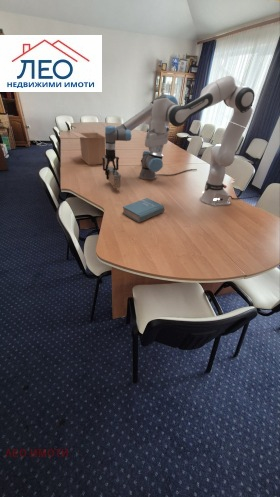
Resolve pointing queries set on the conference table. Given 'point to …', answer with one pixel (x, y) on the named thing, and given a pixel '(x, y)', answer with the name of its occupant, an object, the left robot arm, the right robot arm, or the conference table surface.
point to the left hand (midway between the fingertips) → (110, 178)
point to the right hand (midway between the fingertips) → (155, 153)
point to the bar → (114, 177)
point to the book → (142, 209)
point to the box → (92, 146)
